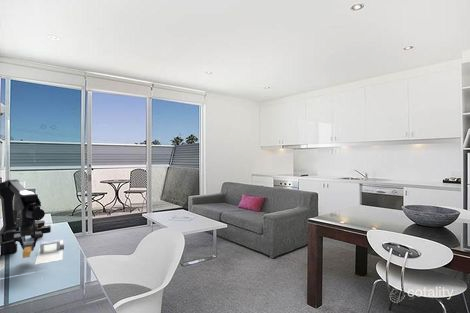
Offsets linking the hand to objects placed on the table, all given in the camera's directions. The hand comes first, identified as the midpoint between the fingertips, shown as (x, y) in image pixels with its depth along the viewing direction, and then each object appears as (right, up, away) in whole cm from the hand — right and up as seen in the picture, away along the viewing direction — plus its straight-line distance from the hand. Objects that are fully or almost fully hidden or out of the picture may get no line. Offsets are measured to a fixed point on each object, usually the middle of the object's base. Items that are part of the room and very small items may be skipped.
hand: (28, 248), depth 136 cm
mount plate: (+2, -7, +14) cm, 16 cm away
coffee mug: (-28, -7, +42) cm, 50 cm away
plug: (+2, -1, -3) cm, 4 cm away
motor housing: (+1, -6, +15) cm, 16 cm away
